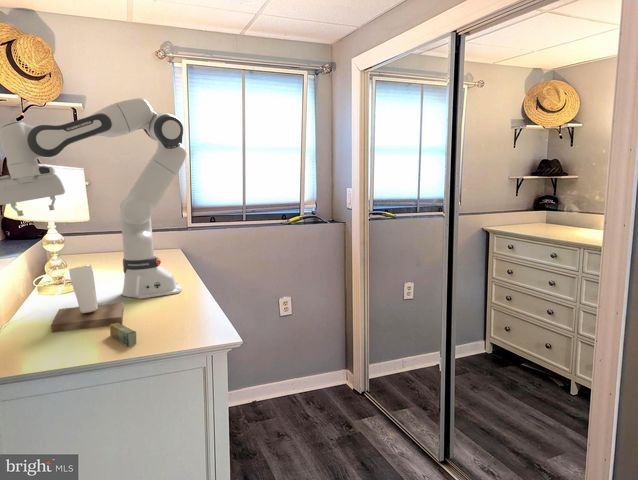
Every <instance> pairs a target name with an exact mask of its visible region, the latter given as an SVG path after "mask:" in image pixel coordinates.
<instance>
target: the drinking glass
mask: <svg viewBox="0 0 638 480" xmlns="http://www.w3.org/2000/svg"><path fill="white" fill-rule="evenodd" d="M68 272H69V277H70V282H71V285H72V288H73V291H74V294H75V298H76V301H77V305H78V307H79V308H80V312H81V313H89V312H93V311H96V310H97V309H98V305H99V304H98V299H97V291H96V284H95V275H94V270H93V267H92V265H91V264H87V265H81V266H76V267H73V268H69V269H68Z"/></svg>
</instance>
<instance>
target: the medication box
mask: <svg viewBox="0 0 638 480" xmlns="http://www.w3.org/2000/svg"><path fill="white" fill-rule="evenodd" d="M109 335H110V337H111V338H113V339H114V340H116V341H117V342H119V343H121V344H123V345H124V346H126V347H132V346H135V345H137V331H135V330H134V329H131V328H129V327H127V326H125V325H123V324H119V323H114V324H110V326H109Z"/></svg>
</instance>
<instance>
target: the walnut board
mask: <svg viewBox="0 0 638 480" xmlns="http://www.w3.org/2000/svg"><path fill="white" fill-rule="evenodd" d="M97 305H98V309H97V310H96V311H93V312H89V313H81V312H80V308H79V306H75V307H65V308H59V309H58V311H57V313H56V314H55V316H54V318H53V320H52V322H51V323H50V327H51V328H50V329H51V330H50V331H51V333H57V332H58V333H59V332H66V331H74V330H77V331H78V330H84V329H91V328H92V329H94V328H101V327H110V324H114V323H119V324H121V325H123V320H124V319H123V318H124V311H125V310H124V302H117V303H106V304H103V303H102V304H97Z"/></svg>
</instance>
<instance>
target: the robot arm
mask: <svg viewBox="0 0 638 480" xmlns="http://www.w3.org/2000/svg"><path fill="white" fill-rule="evenodd" d="M139 130H143V131H144V133H145V134H147V136H148V137H149V138H151V139H152V140H154V141H156V142H157V149H156V151H155V152H154V154H153V155H152V157H151V159H150V160H149V162H148V163H147V164H146V166H145V167H144V168H143V170H142V171H141V173H140V174H139V176H138V177H137V179H136V181H135V182H134V184H133V186H132V187H131V189H130V190H129V192H128V194H126V196H124V197H123V198H122V200H121V202H120V205H119V209H120V210H119V211H120V221H121V222H120V223H121V237H122V248H123V259H122V270H123V274H124V276H123V278H124V279H123V288H122V293H121V295H122V296H124V297H126V298H127V297H128V298H136V299H140V300H142V299H149V298H155V297H161V296H168V295H175V294H178V293H181V292H182V290H183V289H182V285H181V284H180V283H177V282H176V278H175V275H174V274H173V273H172V272H171V271H170V270H168V269H167V268H165V267H163V266H162V265H161V264H162V260H161V259H160V258H159V257H158V256H155V253H154V252H155V251H154V239H153V237H154V236H153V228H152V215H153V213H154V212H155V210H156V209H157V207H158V205H159V203H160V202H161V200H162V198H163V196H164V194H165V193H166V191H167V190H168V188H169V187H170V186H171V184H172V182H173V181H174V179H175V178H176V176H177V175H178V174H179V172H180V171H181V168H182V167H183V165H184V163H185V160H186V158H187V155H188V153H187V149H186V148H185V147H184V145H182V144H183V137H184V136H183V135H184V125H183V123H182V121H181V120H180V119H179V118H178V117H177V116H175V115H174V114H170V113H167V112H158V111H157V112H156V111H154V110H153V108H152V106H151V105H150V103H149V102H148V101H147V100H146V99H144V98H139V97H138V98H137V97H136V98H131V99H125V100H122V101H118V102H114V103H113V104H109V105H107V106H105V107H103V108H101V109H99V110H98V111H96V112H94V113H92V114H90V115H88V116H87V117H82V118H80V119H78V120H77V119H76V120H74V121H71V122H67V123H64V124H60V125H49V124H41V125H36V126H32V125H30V124H27V123H25V122H24V121H18V122H16V121H15V122H12V123H8V124H5V125H3V126H2V127H1V128H0V145H1V148H2V152H3V154H4V156H5V158H6V166H7V169H8V173H9V174H7V175H2V176H0V206H3V205H4V206H5V205H9V204H10V207H11V208H12V209H13V210H14V211H15V212H16V213H17V217H23V216H24V213H23V212H24V211H23V210H19V209H18V208H17V206H18V205H17V203H21V202H27V201H32V200H39V199H45V198H49V199H50V200H51V204H49V205H48V209H49V211H54V210H55V202H56V196H61V195H62V196H63V195H64V194H65V193H66V190H65V186H64V184H63V181H62V180H61V178H60V176H59V175H57V174H56V169H55V167H53V166H48V165H47V166H46V165H39V162H38V159H46V160H53V159H56V158H58V157H60V156H61V155H62V153H64V149H65V148H66V147H67V146H69V145H71V144H74V143H77V142H79V141H83V140H85V139H88V138H91V137H92V138H93V137H98V136H99V137H100V136H101V137H102V136H103V137H107V138H115V137H120V136H124V135H128V134H129V133H132V132H135V131H139Z"/></svg>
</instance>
